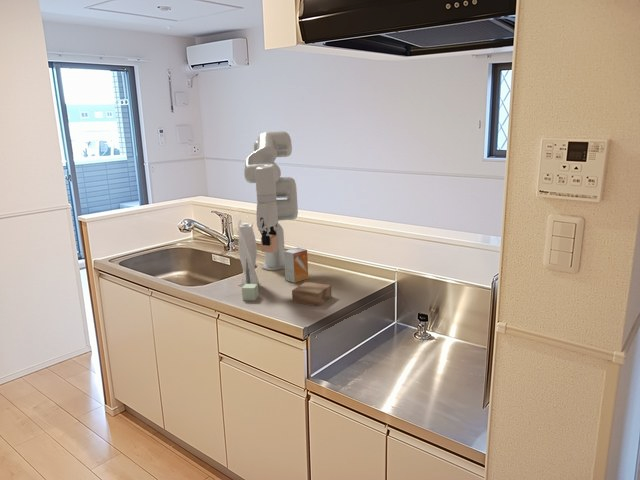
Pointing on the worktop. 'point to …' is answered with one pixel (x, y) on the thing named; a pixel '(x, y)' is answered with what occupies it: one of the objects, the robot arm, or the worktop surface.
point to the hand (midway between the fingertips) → (269, 242)
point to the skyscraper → (247, 253)
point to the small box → (296, 265)
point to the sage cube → (250, 291)
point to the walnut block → (311, 293)
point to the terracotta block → (271, 244)
